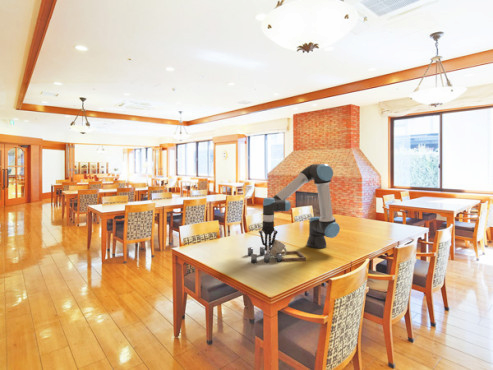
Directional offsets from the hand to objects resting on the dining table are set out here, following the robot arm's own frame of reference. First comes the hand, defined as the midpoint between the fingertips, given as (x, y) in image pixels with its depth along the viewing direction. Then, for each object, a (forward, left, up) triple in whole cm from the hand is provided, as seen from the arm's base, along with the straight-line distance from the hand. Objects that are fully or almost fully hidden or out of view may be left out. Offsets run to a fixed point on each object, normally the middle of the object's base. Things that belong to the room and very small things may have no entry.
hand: (267, 255), depth 186 cm
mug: (-5, 0, -1) cm, 5 cm away
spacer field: (+2, 0, -2) cm, 3 cm away
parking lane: (-15, 0, -2) cm, 15 cm away
